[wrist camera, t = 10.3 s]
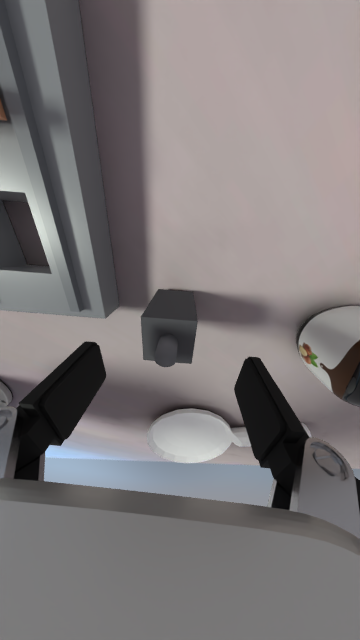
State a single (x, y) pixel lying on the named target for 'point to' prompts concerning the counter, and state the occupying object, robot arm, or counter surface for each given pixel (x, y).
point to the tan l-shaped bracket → (2, 112)
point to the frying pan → (194, 436)
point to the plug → (169, 328)
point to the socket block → (52, 164)
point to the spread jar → (333, 350)
